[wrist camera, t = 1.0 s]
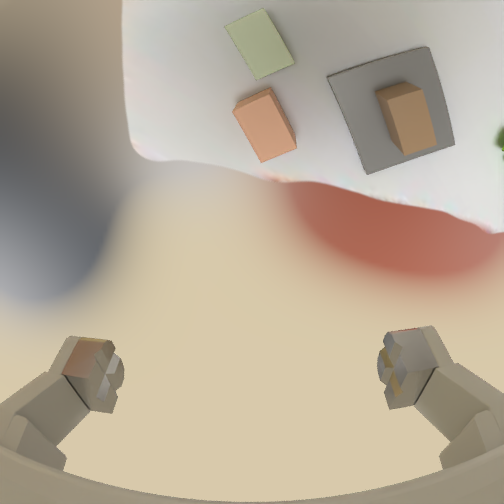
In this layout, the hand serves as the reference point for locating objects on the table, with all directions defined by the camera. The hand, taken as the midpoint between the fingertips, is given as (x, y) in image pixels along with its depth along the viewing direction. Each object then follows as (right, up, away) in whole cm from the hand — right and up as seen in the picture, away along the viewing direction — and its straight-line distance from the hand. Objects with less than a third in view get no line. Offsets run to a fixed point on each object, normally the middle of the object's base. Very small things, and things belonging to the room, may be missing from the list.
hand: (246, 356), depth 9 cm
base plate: (+18, +21, +25) cm, 37 cm away
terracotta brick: (+2, +20, +28) cm, 34 cm away
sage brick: (+1, +27, +22) cm, 35 cm away
